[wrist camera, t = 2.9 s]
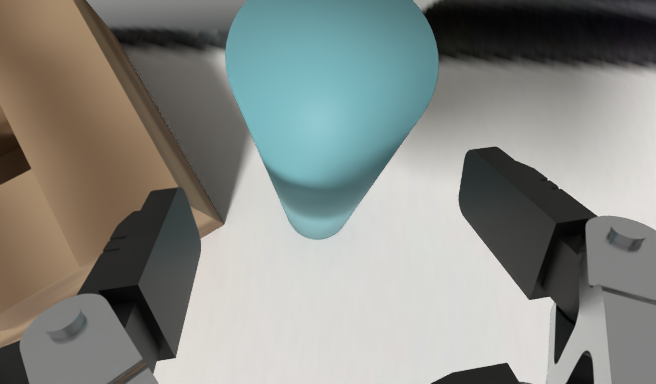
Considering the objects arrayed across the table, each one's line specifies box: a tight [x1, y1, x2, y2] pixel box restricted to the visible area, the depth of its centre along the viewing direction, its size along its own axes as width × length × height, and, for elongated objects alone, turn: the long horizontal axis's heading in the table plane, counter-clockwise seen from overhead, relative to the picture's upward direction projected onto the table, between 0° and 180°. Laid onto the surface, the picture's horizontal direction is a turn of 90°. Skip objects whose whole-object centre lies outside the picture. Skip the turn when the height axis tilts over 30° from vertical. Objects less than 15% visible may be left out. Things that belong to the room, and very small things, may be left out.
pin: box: [225, 0, 439, 240], centre depth 13 cm, size 4×4×15 cm
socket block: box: [0, 0, 224, 348], centre depth 17 cm, size 14×14×6 cm
